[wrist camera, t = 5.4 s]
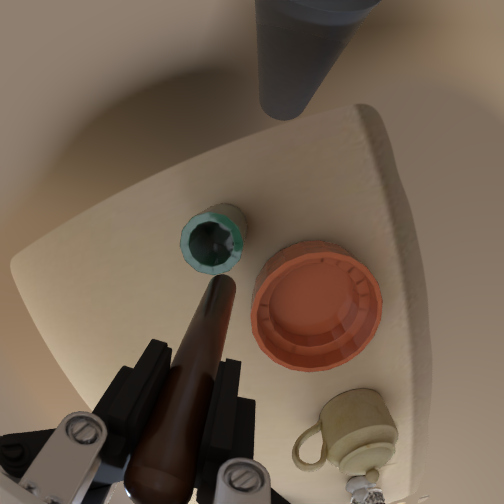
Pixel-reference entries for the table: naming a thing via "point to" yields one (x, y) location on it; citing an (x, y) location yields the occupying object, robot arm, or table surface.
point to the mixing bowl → (314, 306)
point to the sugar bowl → (353, 435)
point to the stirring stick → (182, 406)
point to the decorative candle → (371, 497)
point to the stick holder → (214, 239)
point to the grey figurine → (359, 488)
